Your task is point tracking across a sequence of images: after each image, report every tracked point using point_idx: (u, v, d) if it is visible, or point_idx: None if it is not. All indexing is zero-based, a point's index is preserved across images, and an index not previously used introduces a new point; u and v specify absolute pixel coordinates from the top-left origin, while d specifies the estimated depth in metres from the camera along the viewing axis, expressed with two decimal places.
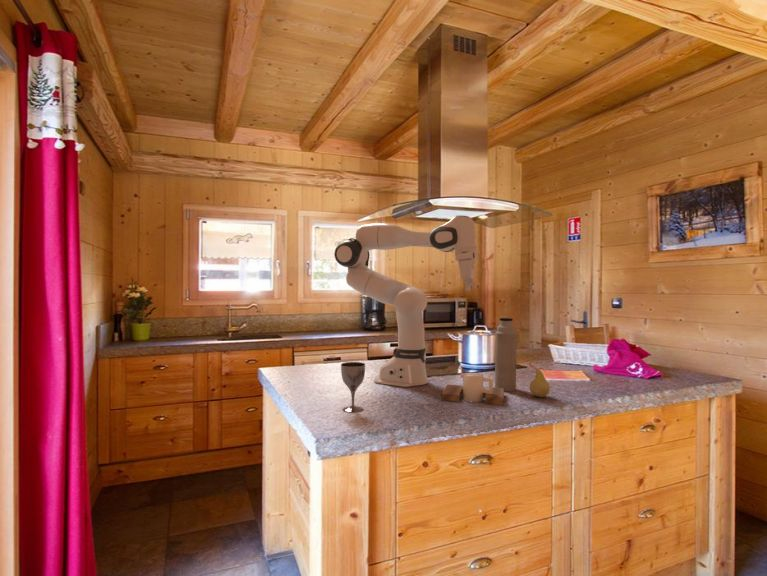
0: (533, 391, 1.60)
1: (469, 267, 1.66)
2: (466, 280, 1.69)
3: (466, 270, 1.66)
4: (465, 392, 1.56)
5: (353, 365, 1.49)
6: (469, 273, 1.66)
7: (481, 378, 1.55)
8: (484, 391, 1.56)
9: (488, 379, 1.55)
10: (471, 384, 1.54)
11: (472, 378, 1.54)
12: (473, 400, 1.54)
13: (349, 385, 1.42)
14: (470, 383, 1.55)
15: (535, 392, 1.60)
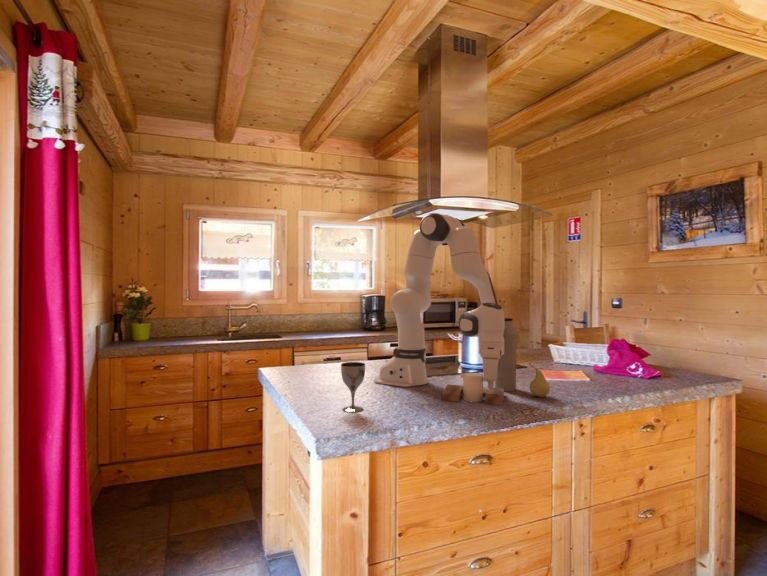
0: (533, 391, 1.60)
1: (494, 368, 1.46)
2: None
3: (491, 371, 1.46)
4: (465, 392, 1.56)
5: (353, 365, 1.49)
6: (494, 375, 1.46)
7: (481, 378, 1.55)
8: (484, 391, 1.56)
9: None
10: (471, 384, 1.54)
11: (472, 378, 1.54)
12: (473, 400, 1.54)
13: (349, 385, 1.42)
14: (470, 383, 1.55)
15: (535, 392, 1.60)
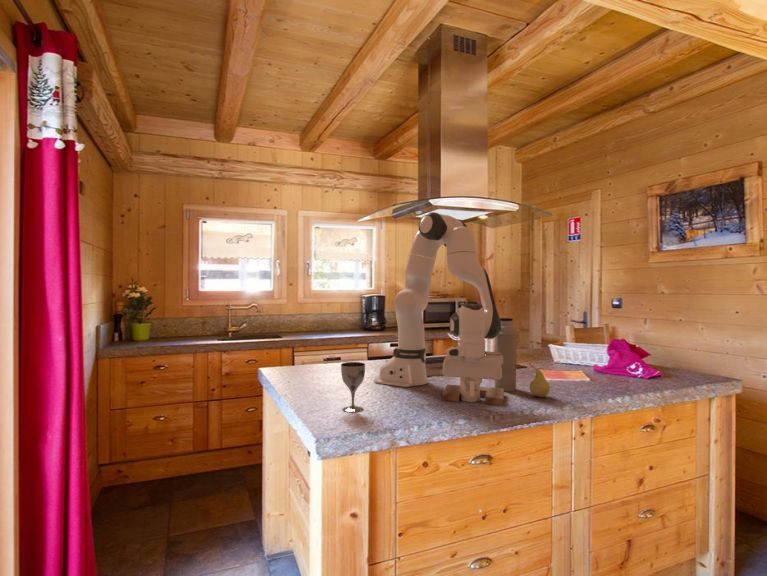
0: (533, 391, 1.60)
1: (443, 364, 1.53)
2: None
3: None
4: None
5: (353, 365, 1.49)
6: (442, 370, 1.53)
7: (466, 378, 1.55)
8: (469, 392, 1.54)
9: None
10: (460, 381, 1.58)
11: None
12: (460, 397, 1.58)
13: (349, 385, 1.42)
14: None
15: (535, 392, 1.60)
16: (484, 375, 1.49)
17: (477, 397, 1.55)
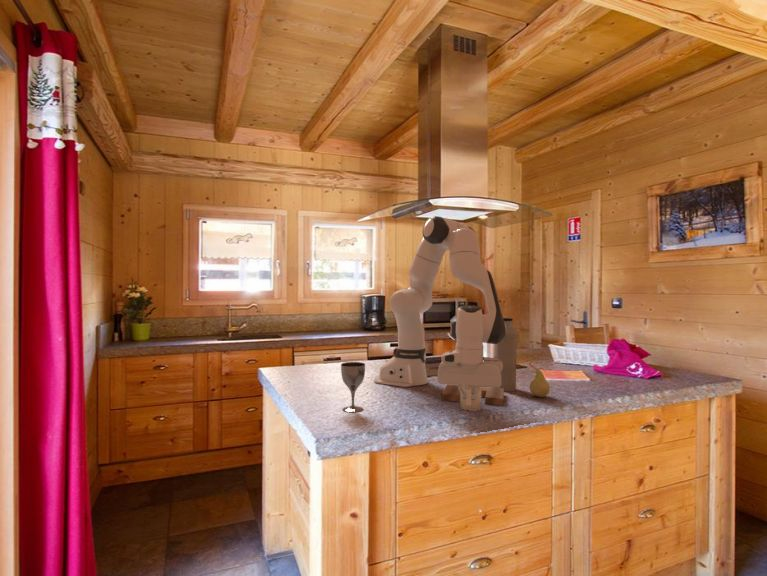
0: (533, 391, 1.60)
1: (438, 370, 1.42)
2: None
3: None
4: None
5: (353, 365, 1.49)
6: (437, 377, 1.42)
7: (464, 385, 1.45)
8: None
9: None
10: None
11: None
12: (460, 405, 1.48)
13: (349, 385, 1.42)
14: None
15: (535, 392, 1.60)
16: (482, 383, 1.38)
17: (477, 406, 1.44)
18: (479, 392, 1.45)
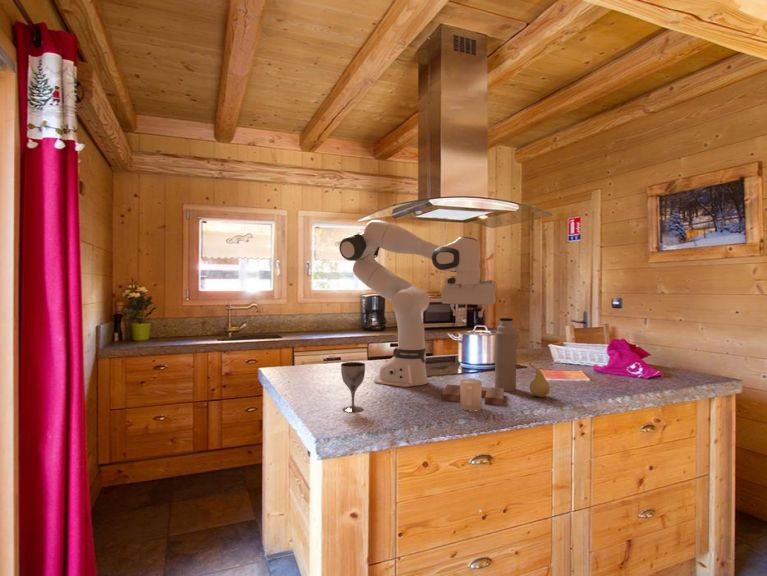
0: (533, 391, 1.60)
1: None
2: None
3: None
4: None
5: (353, 365, 1.49)
6: (441, 298, 1.68)
7: (465, 385, 1.45)
8: None
9: None
10: None
11: (460, 382, 1.48)
12: (460, 405, 1.48)
13: (349, 385, 1.42)
14: None
15: (535, 392, 1.60)
16: (479, 301, 1.63)
17: (477, 407, 1.44)
18: (479, 392, 1.45)
